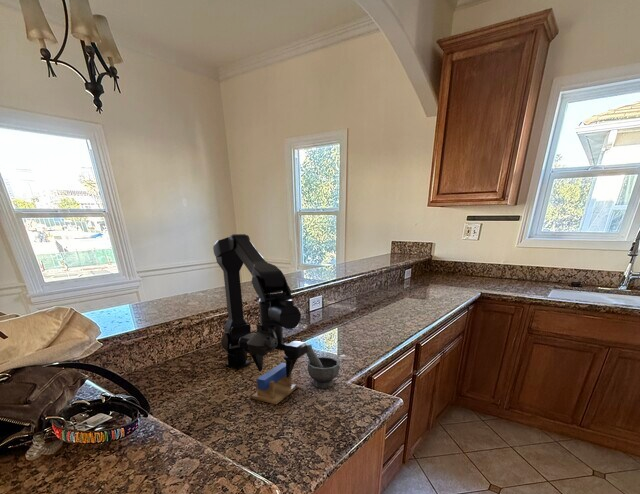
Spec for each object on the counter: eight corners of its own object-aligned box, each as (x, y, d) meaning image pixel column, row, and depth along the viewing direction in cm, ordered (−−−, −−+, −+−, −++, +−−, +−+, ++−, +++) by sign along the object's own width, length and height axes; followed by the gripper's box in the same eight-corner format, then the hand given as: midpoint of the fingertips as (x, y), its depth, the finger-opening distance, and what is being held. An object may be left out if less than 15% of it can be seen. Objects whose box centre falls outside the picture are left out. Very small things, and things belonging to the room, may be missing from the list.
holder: (274, 382, 108) (273, 364, 105) (297, 387, 105) (296, 369, 102) (251, 398, 99) (250, 379, 96) (276, 404, 96) (275, 384, 93)
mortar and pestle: (342, 379, 111) (343, 343, 106) (334, 392, 103) (335, 353, 98) (308, 374, 114) (308, 339, 108) (298, 386, 106) (297, 349, 100)
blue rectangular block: (282, 371, 106) (282, 362, 105) (289, 373, 105) (289, 363, 104) (257, 388, 95) (256, 378, 94) (265, 390, 94) (264, 380, 93)
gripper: (222, 322, 89) (229, 378, 96) (286, 332, 82) (288, 392, 89) (248, 313, 98) (253, 364, 105) (308, 321, 91) (308, 376, 98)
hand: (274, 374), depth 99 cm, fingers open, 9 cm apart
